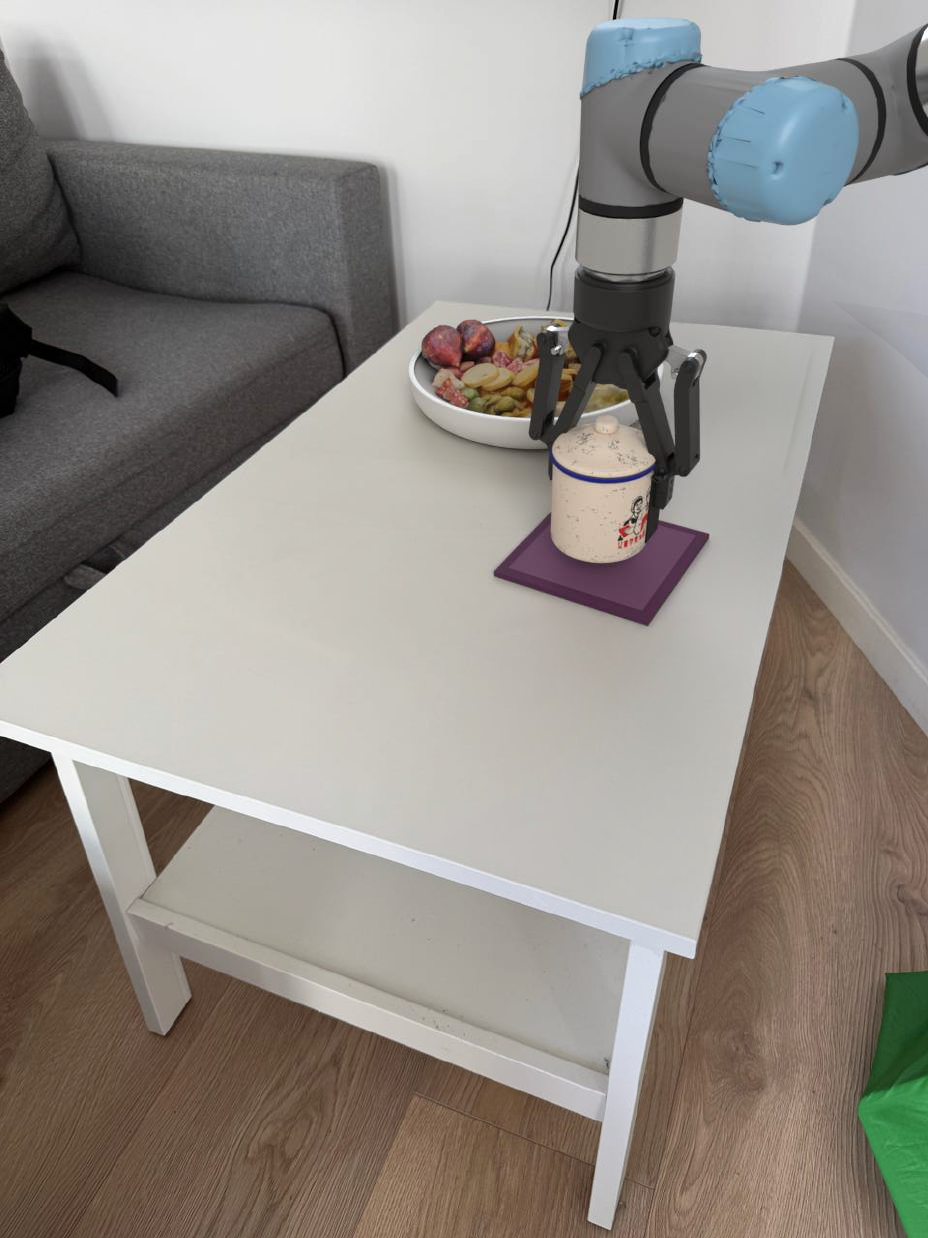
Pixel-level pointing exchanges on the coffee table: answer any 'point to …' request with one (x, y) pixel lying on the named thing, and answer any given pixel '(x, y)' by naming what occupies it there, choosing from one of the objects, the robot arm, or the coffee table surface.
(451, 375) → the bowl
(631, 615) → the place mat
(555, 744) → the coffee table surface
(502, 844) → the coffee table surface
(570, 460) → the teacup with lid
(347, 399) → the coffee table surface
